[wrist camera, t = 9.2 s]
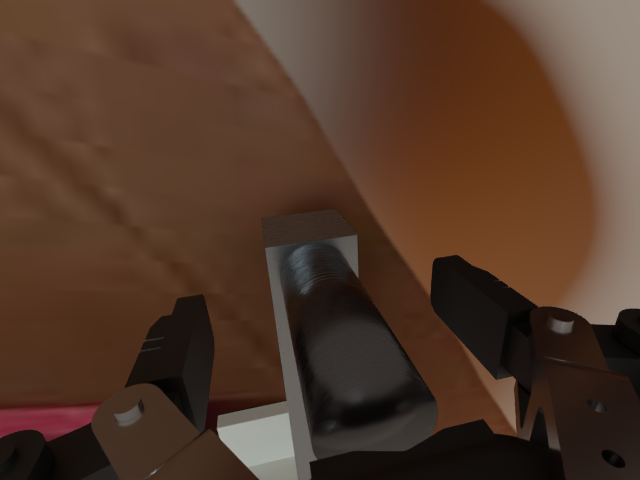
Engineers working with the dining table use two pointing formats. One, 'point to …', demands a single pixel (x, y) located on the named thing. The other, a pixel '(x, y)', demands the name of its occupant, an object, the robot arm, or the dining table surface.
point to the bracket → (261, 440)
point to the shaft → (338, 347)
